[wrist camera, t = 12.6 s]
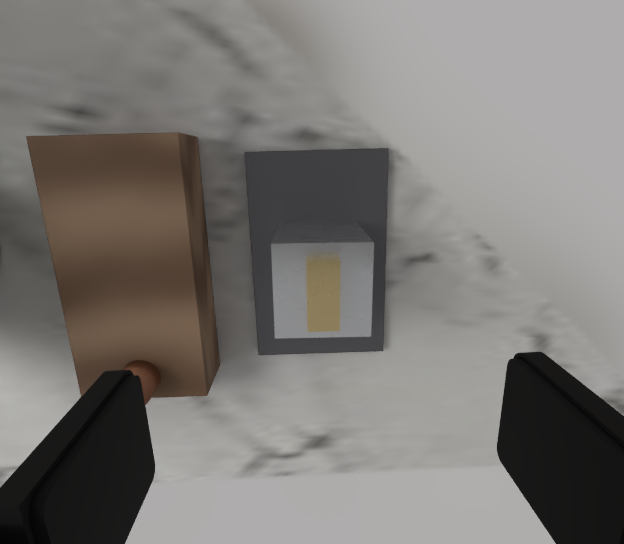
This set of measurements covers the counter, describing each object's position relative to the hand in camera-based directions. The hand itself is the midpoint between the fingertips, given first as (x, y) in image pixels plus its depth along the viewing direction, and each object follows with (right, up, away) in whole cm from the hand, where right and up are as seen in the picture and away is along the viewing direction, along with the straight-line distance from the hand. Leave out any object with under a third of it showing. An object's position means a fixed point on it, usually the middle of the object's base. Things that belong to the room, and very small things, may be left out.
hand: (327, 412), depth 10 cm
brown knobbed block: (-11, +4, +17) cm, 21 cm away
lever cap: (0, +4, +16) cm, 17 cm away
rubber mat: (0, +5, +17) cm, 18 cm away
